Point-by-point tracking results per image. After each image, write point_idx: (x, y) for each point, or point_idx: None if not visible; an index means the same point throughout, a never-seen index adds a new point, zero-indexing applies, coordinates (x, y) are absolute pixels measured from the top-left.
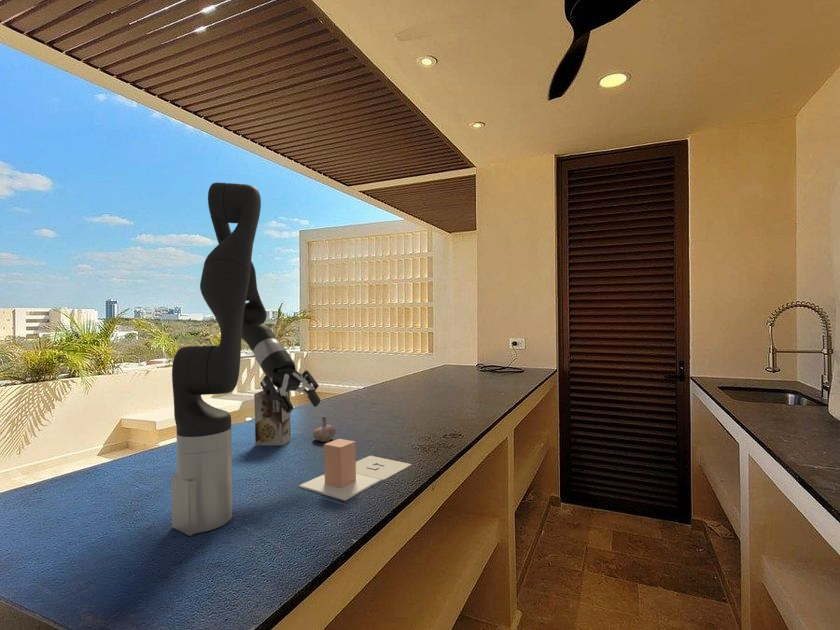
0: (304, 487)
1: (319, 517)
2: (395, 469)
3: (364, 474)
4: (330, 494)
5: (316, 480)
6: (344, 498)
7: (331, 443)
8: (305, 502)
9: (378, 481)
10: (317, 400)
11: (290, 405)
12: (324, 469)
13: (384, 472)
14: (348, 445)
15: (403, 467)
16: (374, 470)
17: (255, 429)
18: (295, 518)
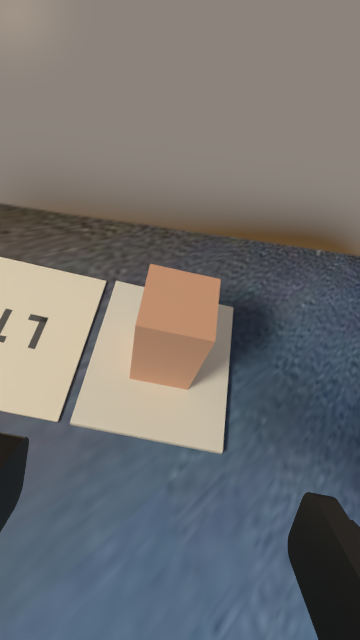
0: (223, 431)
1: (301, 323)
2: (32, 277)
3: (84, 332)
4: (230, 344)
5: (175, 426)
6: (232, 309)
7: (197, 322)
8: (273, 383)
9: (125, 284)
10: (18, 447)
11: (340, 508)
12: (195, 375)
13: (59, 293)
14: (183, 273)
15: (13, 264)
16: (49, 320)
17: None
18: (328, 360)
